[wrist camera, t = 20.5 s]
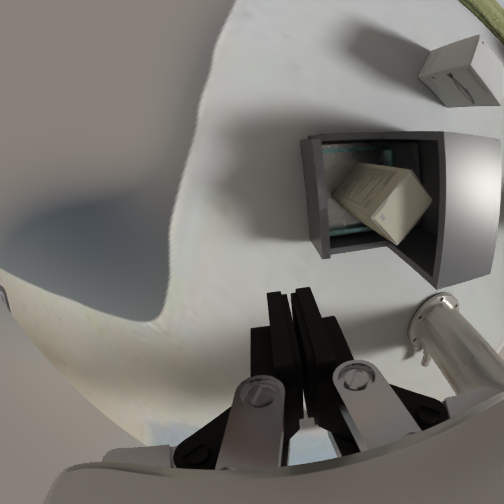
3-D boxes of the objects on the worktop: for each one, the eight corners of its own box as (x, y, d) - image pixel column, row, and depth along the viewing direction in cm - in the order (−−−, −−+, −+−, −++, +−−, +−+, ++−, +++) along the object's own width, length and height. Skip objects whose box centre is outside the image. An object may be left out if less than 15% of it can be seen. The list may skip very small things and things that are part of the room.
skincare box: (352, 216, 35) (395, 250, 23) (330, 195, 33) (367, 220, 22) (382, 182, 33) (435, 200, 21) (361, 159, 32) (411, 168, 20)
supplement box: (415, 77, 28) (468, 63, 17) (430, 50, 26) (479, 32, 14) (447, 109, 30) (502, 107, 18) (459, 81, 28) (511, 74, 16)
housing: (419, 227, 37) (490, 273, 21) (318, 241, 38) (362, 307, 22) (417, 134, 32) (500, 139, 16) (308, 136, 33) (357, 128, 17)
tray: (413, 226, 37) (438, 240, 30) (310, 240, 37) (322, 259, 31) (411, 137, 32) (438, 138, 25) (300, 140, 33) (311, 139, 26)
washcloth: (453, -31, 16) (460, -36, 13) (506, 20, 18) (514, 18, 15) (450, -5, 20) (459, -9, 17) (506, 52, 23) (515, 50, 20)
